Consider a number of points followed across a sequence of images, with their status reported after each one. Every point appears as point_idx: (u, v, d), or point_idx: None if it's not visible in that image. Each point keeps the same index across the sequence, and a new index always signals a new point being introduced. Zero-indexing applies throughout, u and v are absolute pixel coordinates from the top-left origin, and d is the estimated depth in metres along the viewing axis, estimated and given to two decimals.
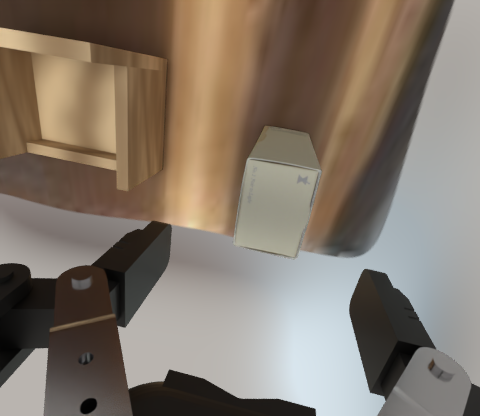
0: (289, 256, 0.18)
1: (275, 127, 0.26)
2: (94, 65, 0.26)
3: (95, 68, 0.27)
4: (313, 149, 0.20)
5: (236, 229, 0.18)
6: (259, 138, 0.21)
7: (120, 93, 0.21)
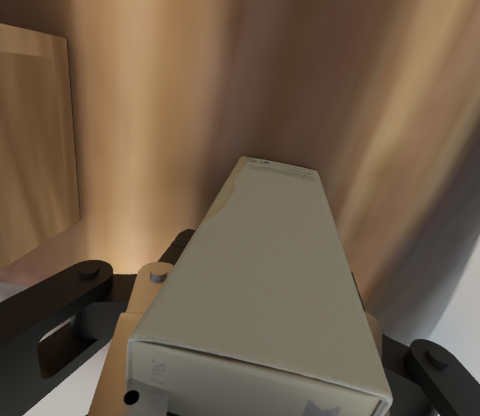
0: None
1: (259, 160, 0.15)
2: None
3: None
4: (336, 232, 0.09)
5: None
6: (215, 202, 0.09)
7: None
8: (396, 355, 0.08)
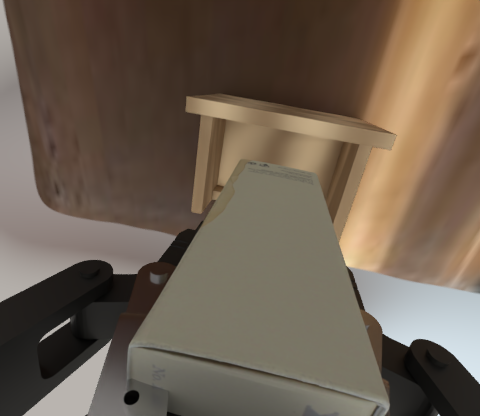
0: None
1: (258, 162, 0.15)
2: None
3: None
4: (335, 236, 0.09)
5: None
6: (214, 206, 0.09)
7: (359, 162, 0.23)
8: (396, 355, 0.08)
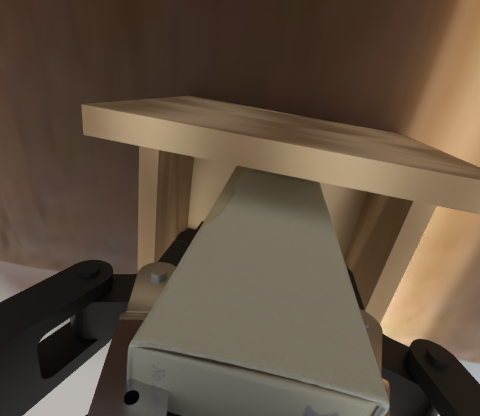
0: None
1: None
2: None
3: None
4: (335, 236, 0.09)
5: None
6: (214, 206, 0.09)
7: (417, 217, 0.13)
8: (396, 355, 0.08)
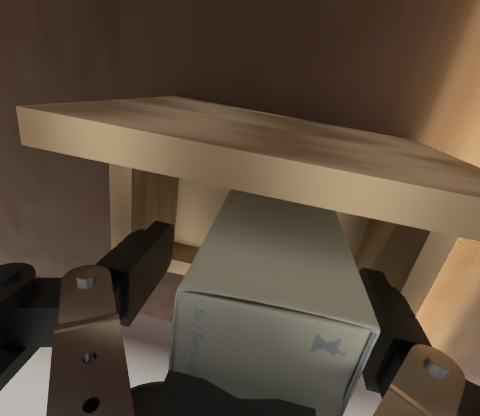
0: None
1: None
2: None
3: None
4: (336, 216, 0.10)
5: None
6: (230, 192, 0.11)
7: (439, 242, 0.11)
8: None
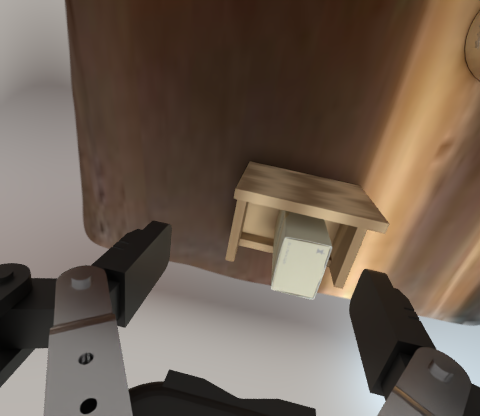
0: (309, 297, 0.27)
1: None
2: None
3: None
4: (324, 220, 0.29)
5: (273, 279, 0.27)
6: (286, 211, 0.30)
7: (361, 230, 0.30)
8: None
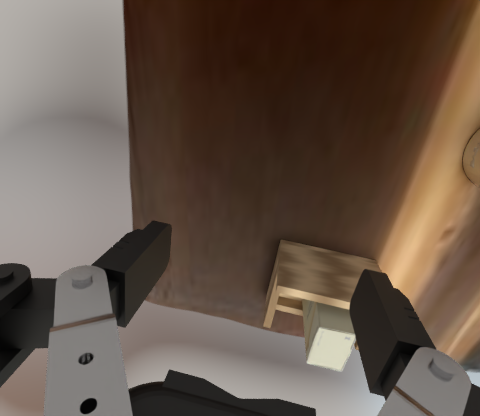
0: (338, 370, 0.34)
1: None
2: None
3: None
4: None
5: (309, 356, 0.33)
6: None
7: None
8: None
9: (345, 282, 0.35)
